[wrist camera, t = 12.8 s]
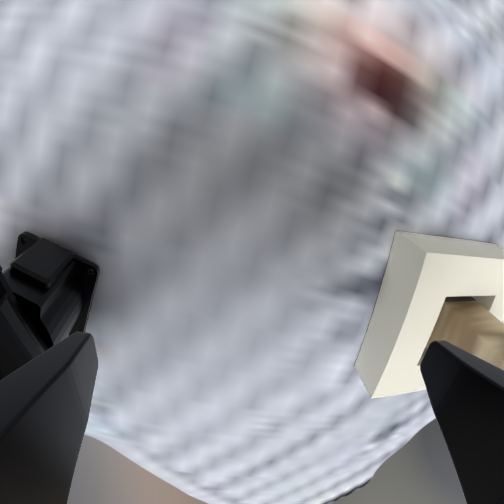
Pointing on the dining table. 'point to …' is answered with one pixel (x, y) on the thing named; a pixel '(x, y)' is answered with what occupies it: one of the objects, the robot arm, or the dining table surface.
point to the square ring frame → (423, 304)
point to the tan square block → (470, 329)
